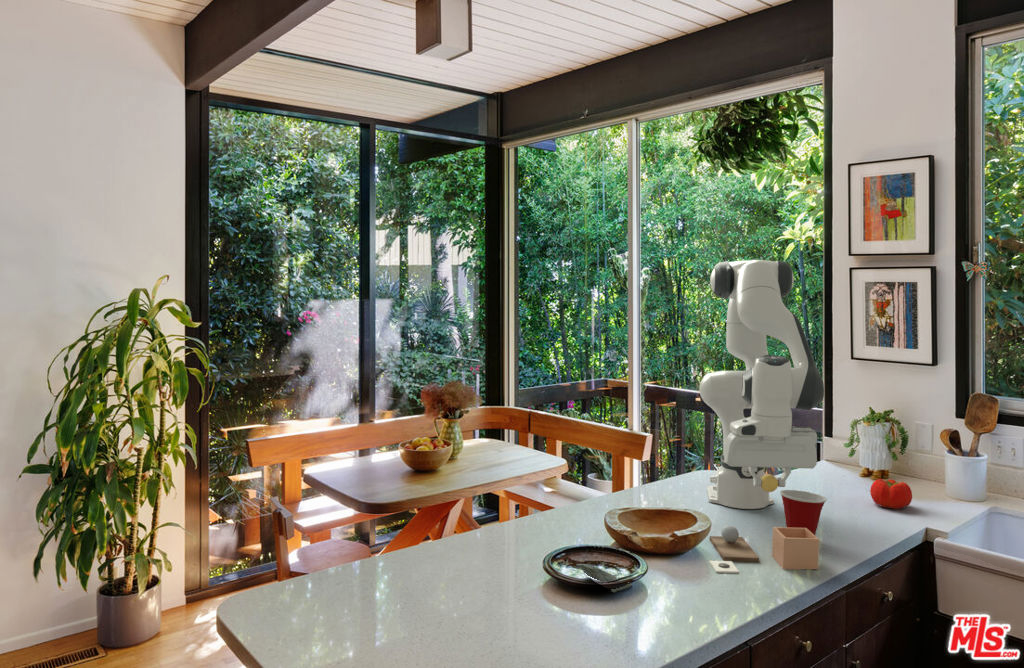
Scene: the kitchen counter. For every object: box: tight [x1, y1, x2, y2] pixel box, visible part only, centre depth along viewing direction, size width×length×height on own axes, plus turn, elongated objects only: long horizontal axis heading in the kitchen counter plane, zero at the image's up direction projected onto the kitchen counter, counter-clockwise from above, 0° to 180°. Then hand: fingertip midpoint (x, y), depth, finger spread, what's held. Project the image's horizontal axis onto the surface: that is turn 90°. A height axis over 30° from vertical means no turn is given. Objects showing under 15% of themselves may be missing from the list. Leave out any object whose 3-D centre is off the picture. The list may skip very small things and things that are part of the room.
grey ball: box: [721, 525, 740, 543], centre depth 173 cm, size 4×4×4 cm
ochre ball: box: [761, 473, 779, 493], centre depth 164 cm, size 4×4×4 cm
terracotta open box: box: [771, 526, 820, 571], centre depth 163 cm, size 8×8×7 cm
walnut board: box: [709, 535, 760, 563], centre depth 171 cm, size 14×8×1 cm, turn 178°
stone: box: [575, 563, 633, 593], centre depth 151 cm, size 11×4×10 cm
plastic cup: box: [779, 489, 827, 536], centre depth 178 cm, size 11×11×12 cm
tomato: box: [869, 478, 913, 510], centre depth 208 cm, size 11×11×8 cm
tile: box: [709, 560, 740, 574], centre depth 160 cm, size 6×5×1 cm
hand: (769, 486), depth 164 cm, fingers closed on ochre ball, 4 cm apart
